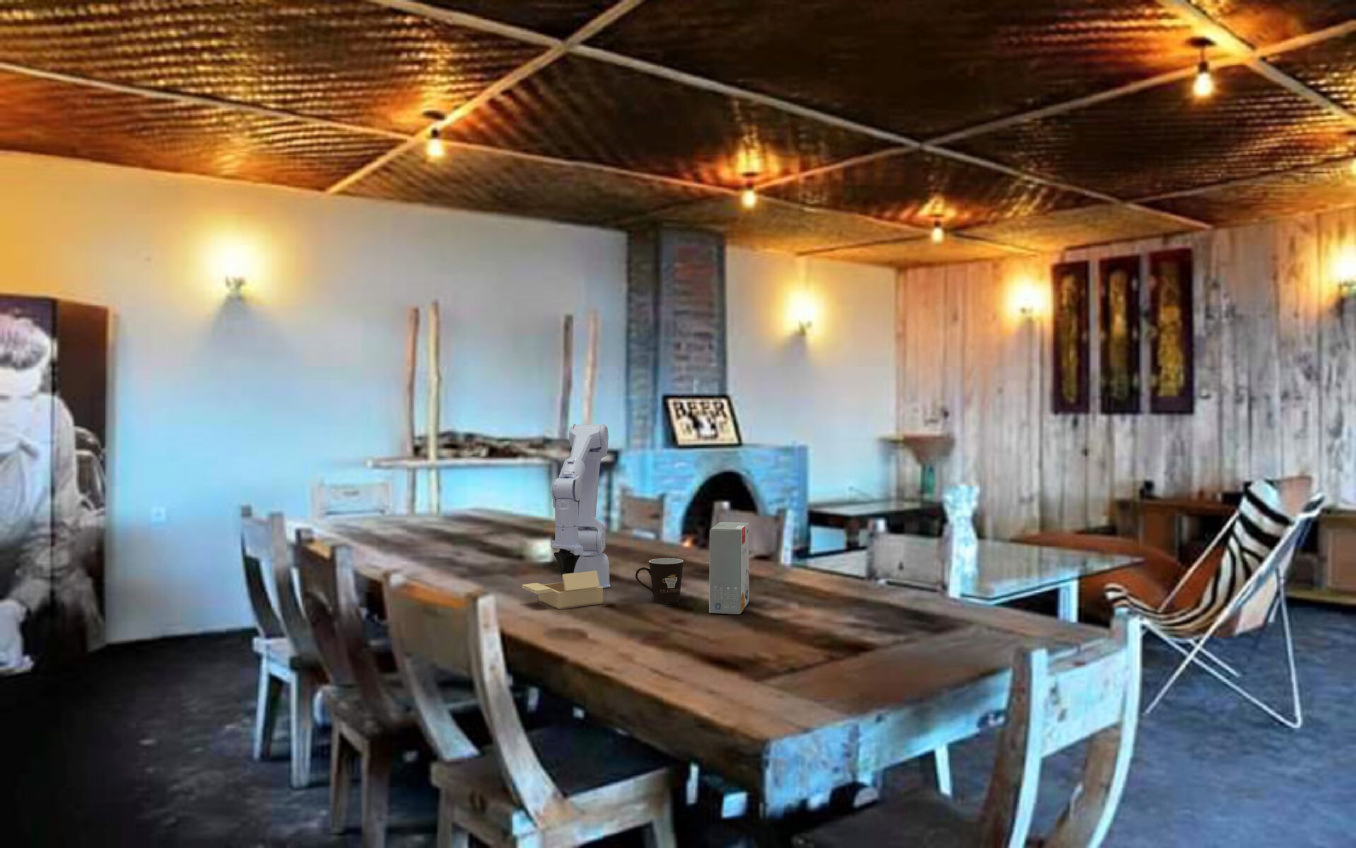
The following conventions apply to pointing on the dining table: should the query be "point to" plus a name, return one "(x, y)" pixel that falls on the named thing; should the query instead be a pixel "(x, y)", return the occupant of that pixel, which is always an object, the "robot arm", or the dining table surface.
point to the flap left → (580, 580)
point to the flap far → (536, 588)
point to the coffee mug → (664, 579)
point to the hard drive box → (729, 567)
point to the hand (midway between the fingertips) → (567, 580)
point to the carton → (571, 596)
